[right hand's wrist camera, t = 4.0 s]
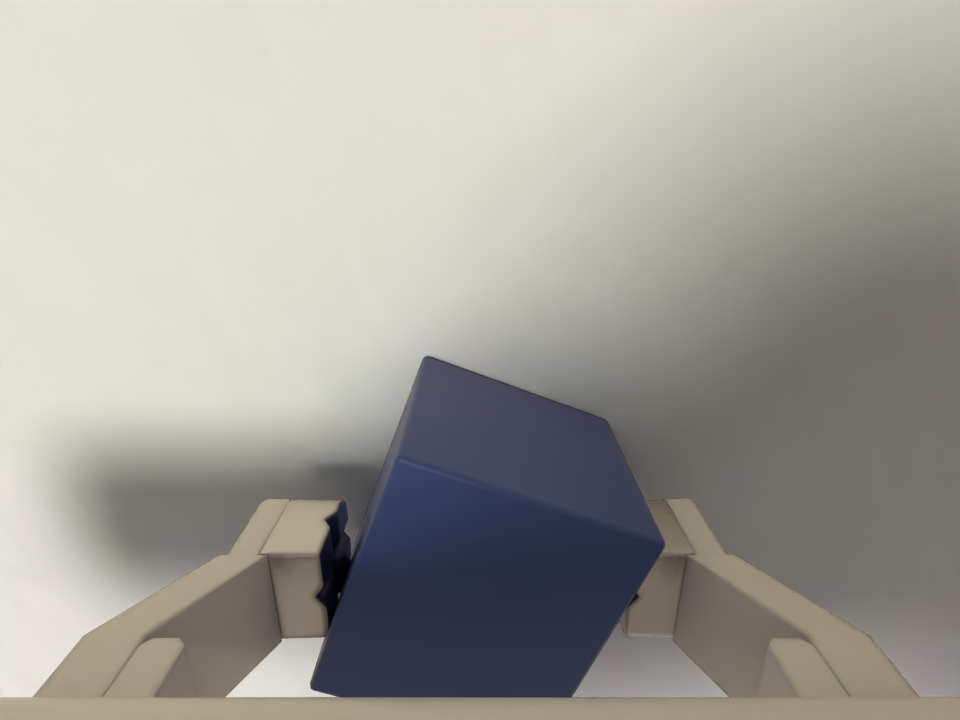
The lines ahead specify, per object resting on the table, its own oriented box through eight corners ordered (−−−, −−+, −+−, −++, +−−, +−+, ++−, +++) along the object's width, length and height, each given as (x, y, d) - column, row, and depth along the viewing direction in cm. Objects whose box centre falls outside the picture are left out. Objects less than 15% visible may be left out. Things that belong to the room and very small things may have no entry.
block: (358, 532, 13) (307, 691, 9) (424, 354, 11) (396, 455, 7) (522, 582, 13) (540, 752, 9) (608, 419, 12) (669, 545, 8)
